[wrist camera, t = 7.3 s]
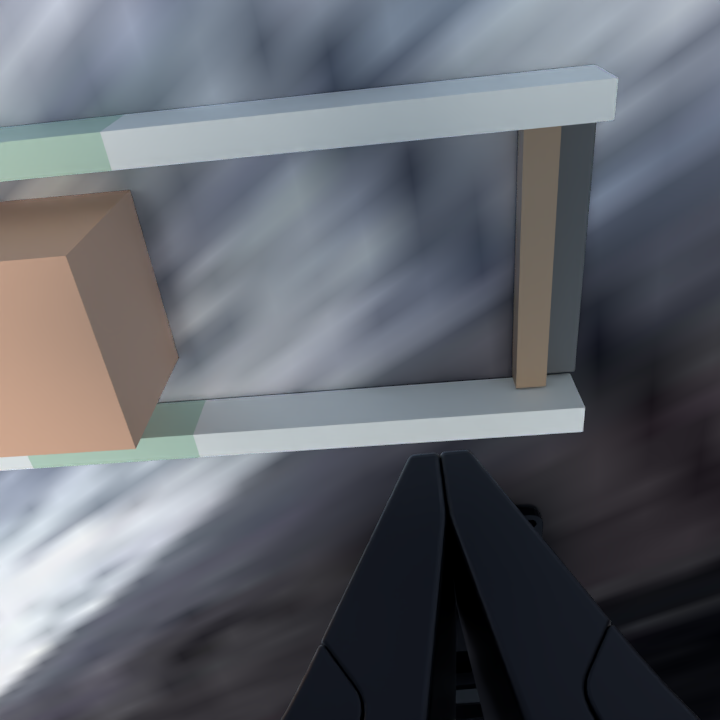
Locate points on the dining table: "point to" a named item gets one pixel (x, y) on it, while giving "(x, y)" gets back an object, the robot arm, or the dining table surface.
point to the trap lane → (358, 128)
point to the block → (78, 326)
